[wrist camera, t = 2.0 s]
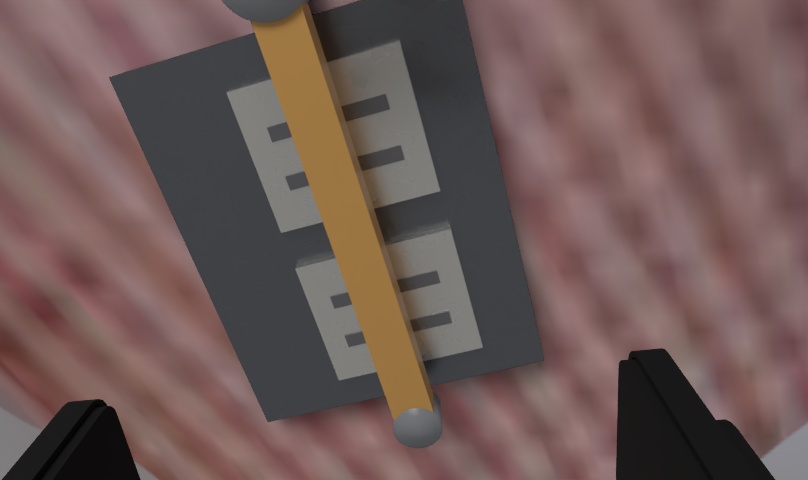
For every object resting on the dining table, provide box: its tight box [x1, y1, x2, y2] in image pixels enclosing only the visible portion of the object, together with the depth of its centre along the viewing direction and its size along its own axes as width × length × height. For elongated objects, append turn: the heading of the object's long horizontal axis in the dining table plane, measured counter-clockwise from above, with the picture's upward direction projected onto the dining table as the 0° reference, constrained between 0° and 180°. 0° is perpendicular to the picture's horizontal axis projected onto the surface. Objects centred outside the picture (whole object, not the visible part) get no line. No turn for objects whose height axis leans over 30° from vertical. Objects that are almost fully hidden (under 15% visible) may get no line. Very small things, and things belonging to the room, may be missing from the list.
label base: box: [109, 0, 544, 422], centre depth 29 cm, size 16×23×3 cm
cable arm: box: [222, 0, 442, 448], centre depth 27 cm, size 4×24×2 cm, turn 16°
